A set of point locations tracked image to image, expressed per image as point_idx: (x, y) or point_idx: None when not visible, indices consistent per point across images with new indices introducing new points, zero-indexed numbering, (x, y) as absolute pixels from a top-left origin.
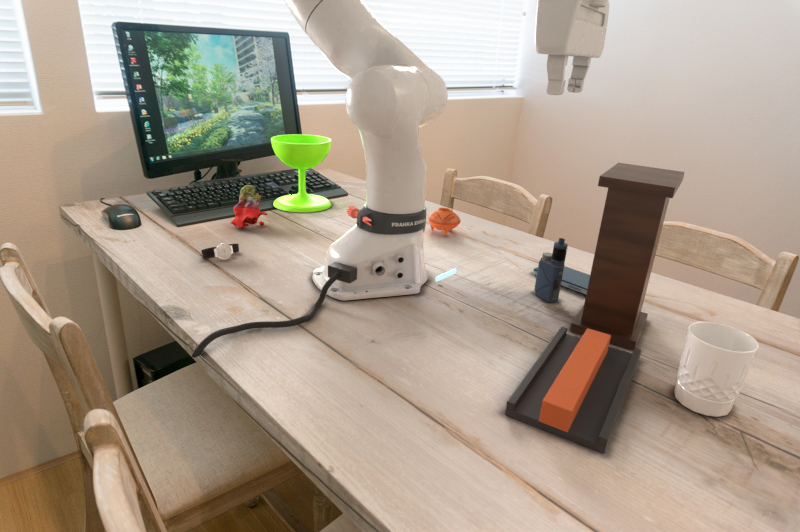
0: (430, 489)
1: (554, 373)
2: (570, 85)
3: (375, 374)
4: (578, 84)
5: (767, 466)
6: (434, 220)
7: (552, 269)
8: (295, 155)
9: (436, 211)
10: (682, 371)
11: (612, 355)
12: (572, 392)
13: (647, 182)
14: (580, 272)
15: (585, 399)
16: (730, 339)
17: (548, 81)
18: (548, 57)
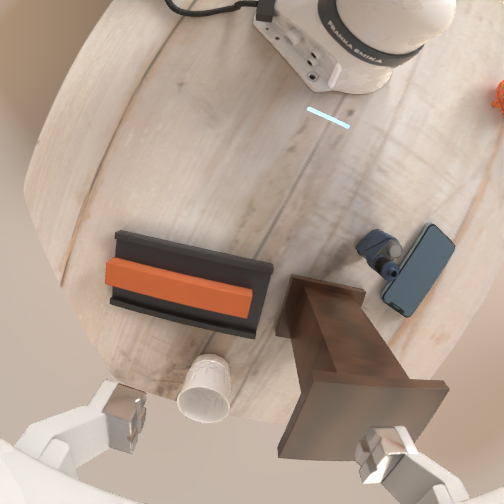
0: (44, 201)
1: (185, 264)
2: (378, 443)
3: (128, 112)
4: (363, 465)
5: (156, 385)
6: (500, 87)
7: (371, 256)
8: None
9: None
10: (200, 366)
11: None
12: (127, 284)
13: (296, 435)
14: (434, 279)
15: None
16: (224, 409)
17: (89, 402)
18: (18, 444)
